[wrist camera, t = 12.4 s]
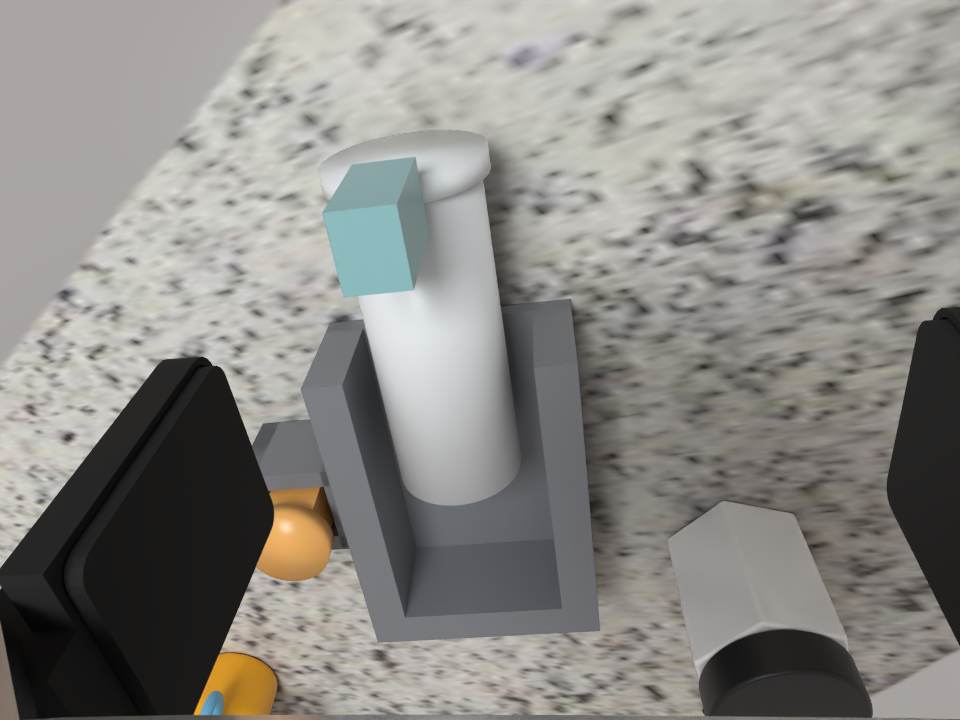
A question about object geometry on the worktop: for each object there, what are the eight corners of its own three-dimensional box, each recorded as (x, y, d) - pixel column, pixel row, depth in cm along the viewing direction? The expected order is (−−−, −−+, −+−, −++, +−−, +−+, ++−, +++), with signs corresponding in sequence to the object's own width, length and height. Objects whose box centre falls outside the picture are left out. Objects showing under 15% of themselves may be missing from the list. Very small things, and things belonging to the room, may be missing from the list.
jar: (646, 582, 51) (677, 755, 41) (688, 490, 47) (734, 657, 37) (776, 605, 52) (838, 782, 42) (828, 516, 48) (912, 689, 37)
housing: (570, 299, 41) (577, 364, 35) (591, 548, 50) (600, 630, 44) (231, 332, 43) (188, 399, 37) (312, 566, 52) (286, 647, 46)
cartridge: (488, 99, 35) (472, 195, 24) (528, 418, 44) (530, 592, 33) (332, 120, 35) (249, 221, 25) (403, 429, 44) (365, 601, 34)
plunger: (343, 436, 45) (317, 516, 39) (360, 494, 47) (337, 578, 41) (270, 442, 45) (233, 522, 39) (289, 499, 47) (257, 583, 42)
